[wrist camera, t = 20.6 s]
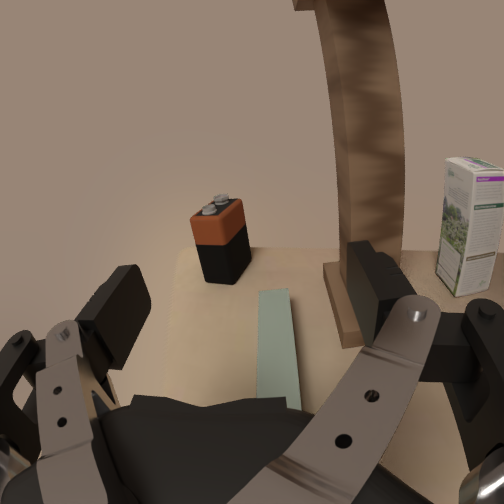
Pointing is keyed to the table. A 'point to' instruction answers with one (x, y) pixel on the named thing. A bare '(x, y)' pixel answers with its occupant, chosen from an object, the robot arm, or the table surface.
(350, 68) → the stand
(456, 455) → the table surface
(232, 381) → the table surface
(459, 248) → the syrup box
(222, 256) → the battery
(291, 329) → the peg
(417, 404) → the table surface
